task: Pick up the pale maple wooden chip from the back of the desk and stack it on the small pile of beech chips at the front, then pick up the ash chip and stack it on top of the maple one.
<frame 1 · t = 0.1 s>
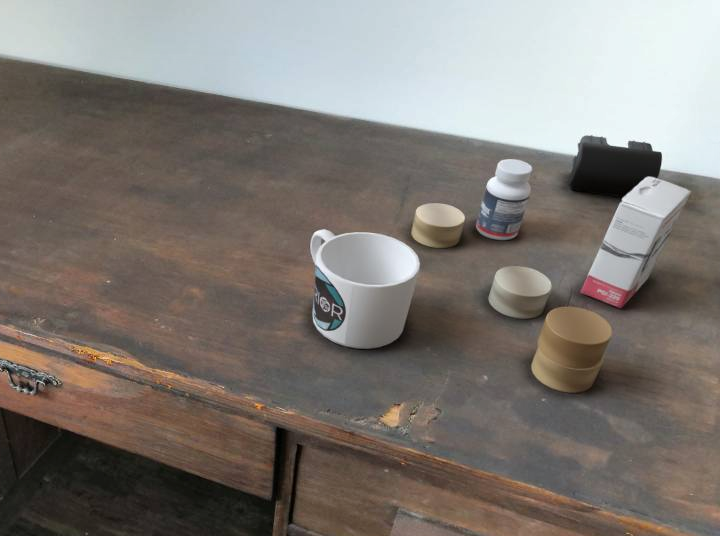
chip pile: (562, 373, 78), on the table
ink box: (614, 288, 90), on the table
maple chip: (435, 235, 98), on the table
end cap: (603, 193, 107), on the table
mug: (348, 316, 85), on the table
pill bottle: (495, 231, 99), on the table
ash chip: (515, 302, 87), on the table
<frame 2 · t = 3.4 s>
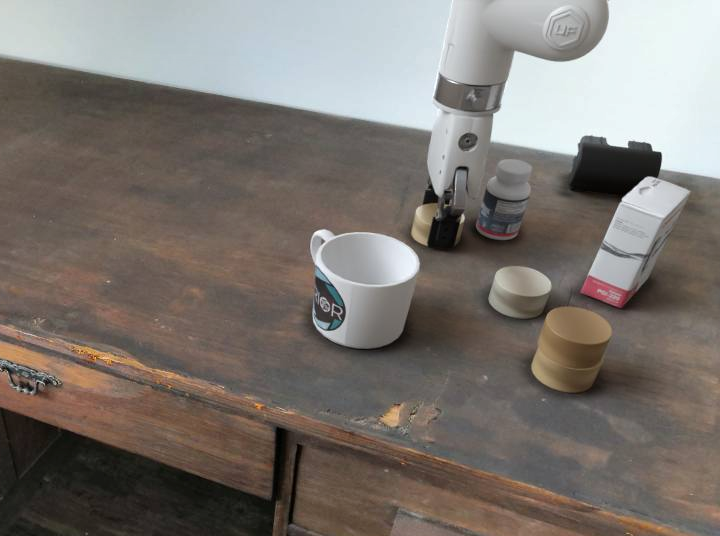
hand: (436, 231, 98), 1 cm above the table, tool pointing down, fingers closed on maple chip, 6 cm apart
maple chip: (435, 235, 98), on the table, touching gripper
everything else where it was.
when the fingers open (7 cm above the table, at t = 9.8 s): maple chip stays where it is, resting on chip pile.
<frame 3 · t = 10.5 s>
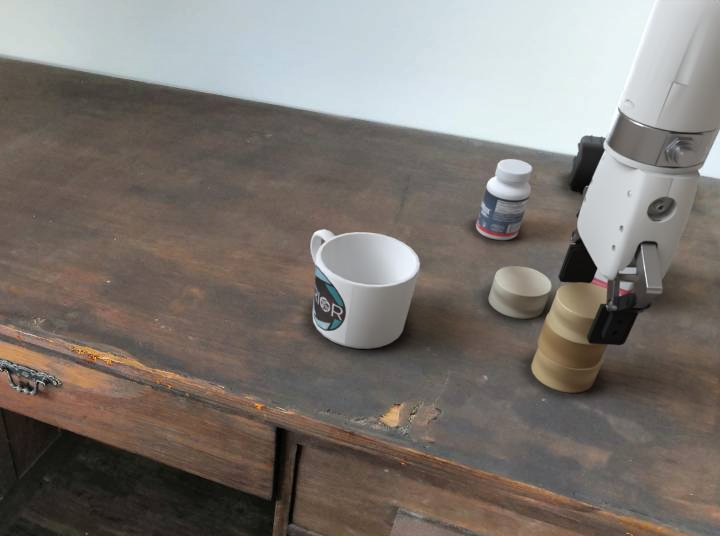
hand: (588, 310, 73), 8 cm above the table, tool pointing down, fingers open, 9 cm apart
maple chip: (580, 325, 74), point 6 cm above the table, touching chip pile
everything else where it was.
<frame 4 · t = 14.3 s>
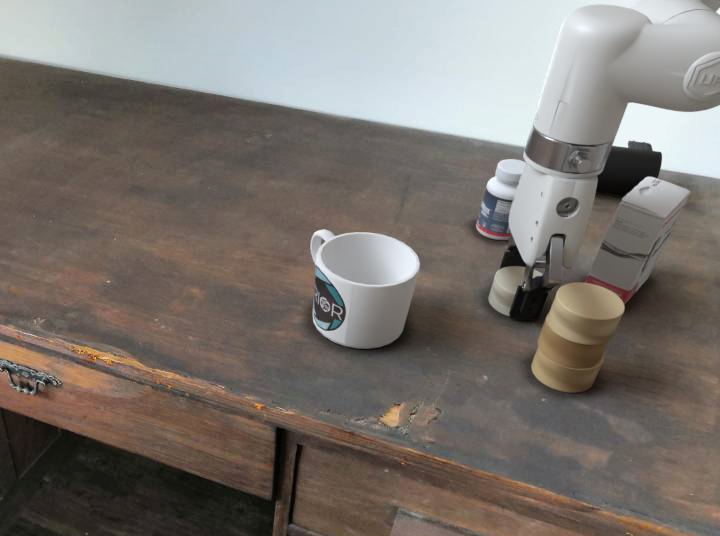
hand: (517, 298, 87), 1 cm above the table, tool pointing down, fingers closed on ash chip, 6 cm apart
ash chip: (515, 302, 87), on the table, touching gripper
everything else where it was.
when the fingers open (10 cm above the table, at t = 19.6 s): ash chip stays where it is, resting on maple chip.
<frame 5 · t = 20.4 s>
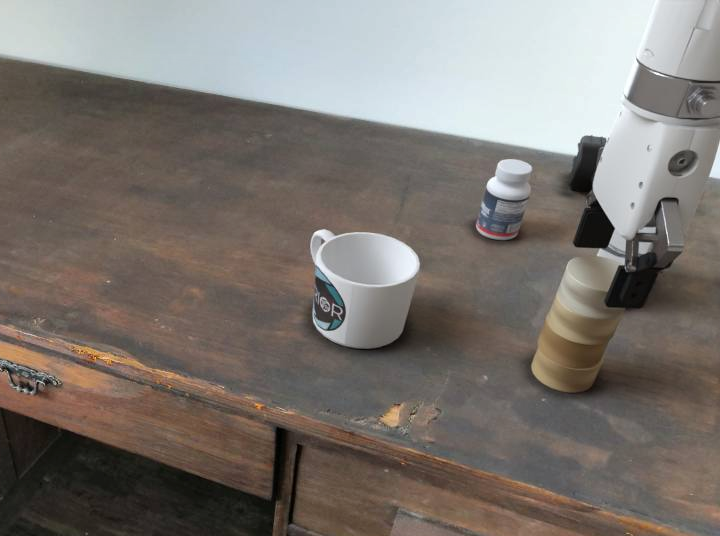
hand: (605, 274, 71), 11 cm above the table, tool pointing down, fingers open, 9 cm apart
maple chip: (580, 325, 74), point 6 cm above the table, touching ash chip, chip pile
ash chip: (590, 300, 72), point 9 cm above the table, touching maple chip
everything else where it was.
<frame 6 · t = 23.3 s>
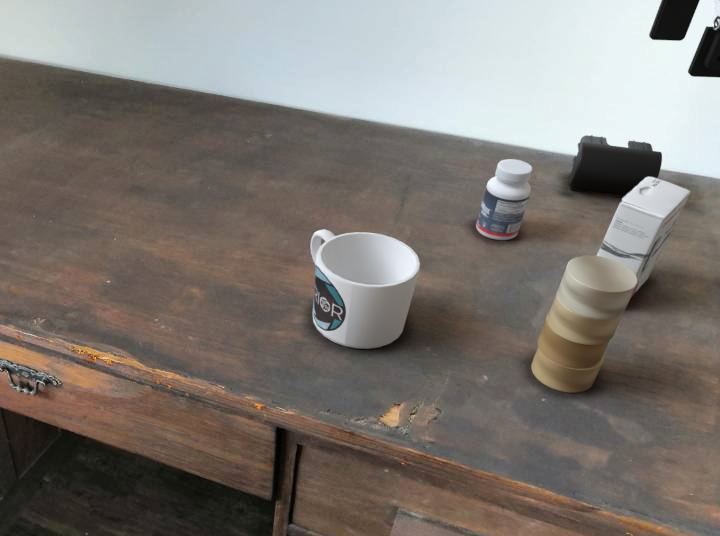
hand: (684, 56, 72), 26 cm above the table, tool pointing down, fingers open, 9 cm apart
nothing on the table moved.
at the end: maple chip 0.2 cm off-centre on the chip pile, point 6.0 cm above the chip pile's base; ash chip 0.1 cm off-centre on the chip pile, point 9.0 cm above the chip pile's base; ash chip tilted 0° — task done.
